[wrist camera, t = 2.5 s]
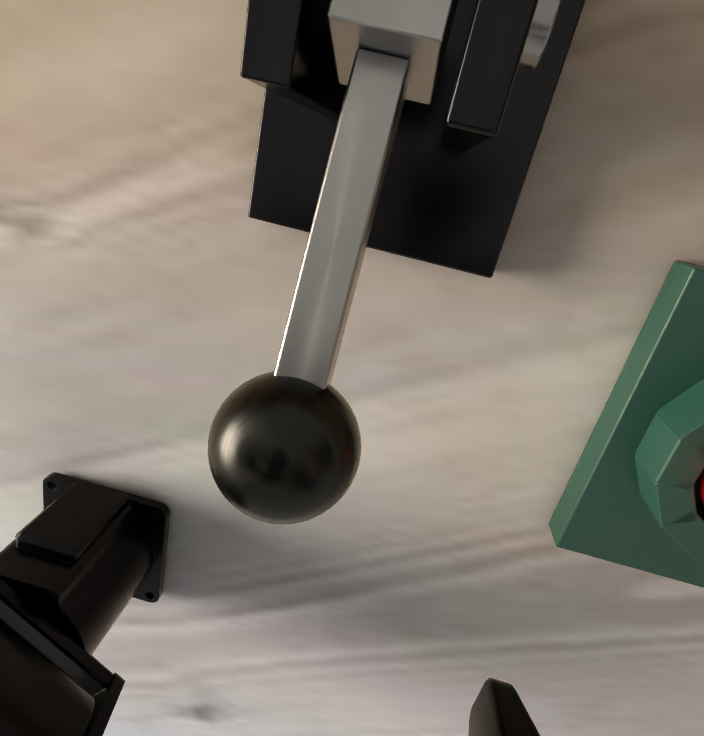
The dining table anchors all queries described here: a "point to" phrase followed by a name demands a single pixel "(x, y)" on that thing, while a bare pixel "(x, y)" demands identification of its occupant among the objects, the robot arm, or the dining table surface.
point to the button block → (648, 448)
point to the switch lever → (329, 274)
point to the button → (702, 489)
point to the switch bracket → (413, 125)
